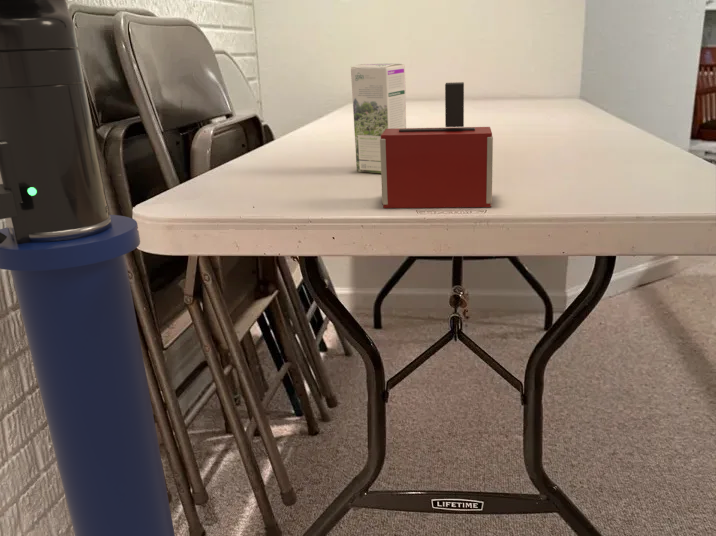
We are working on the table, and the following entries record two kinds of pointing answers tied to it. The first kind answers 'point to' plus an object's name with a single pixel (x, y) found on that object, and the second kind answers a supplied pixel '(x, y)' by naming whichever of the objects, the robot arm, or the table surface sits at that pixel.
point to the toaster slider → (454, 104)
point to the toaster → (436, 167)
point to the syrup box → (376, 109)
